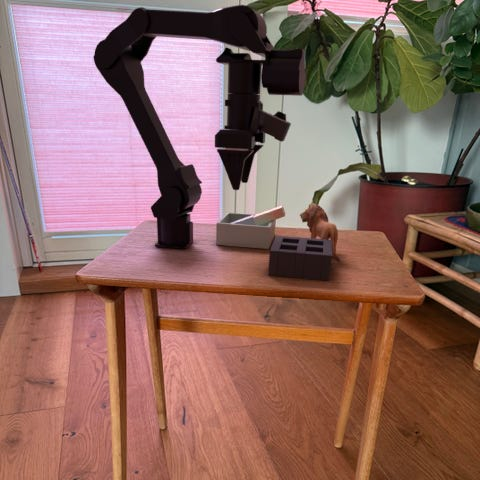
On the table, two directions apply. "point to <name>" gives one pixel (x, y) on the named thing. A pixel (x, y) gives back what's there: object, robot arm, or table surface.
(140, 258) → the table surface
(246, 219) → the pink rectangular bar
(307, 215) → the lion figurine
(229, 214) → the tub
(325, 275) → the caddy
